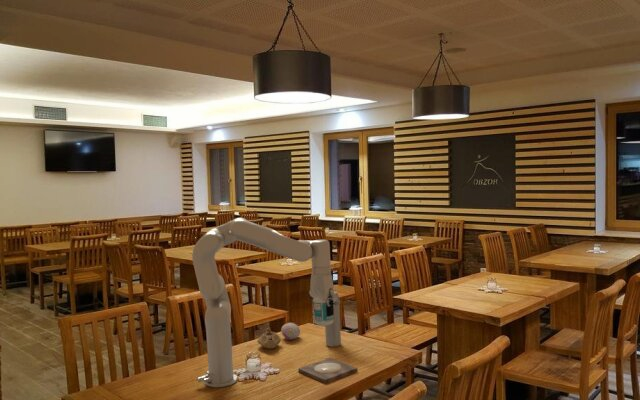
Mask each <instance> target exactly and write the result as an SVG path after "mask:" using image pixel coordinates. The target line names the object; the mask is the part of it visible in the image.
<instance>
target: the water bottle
mask: <svg viewBox="0 0 640 400" xmlns="http://www.w3.org/2000/svg"><path fill="white" fill-rule="evenodd" d="M334 293H335V295H336V296H337V299H336V302H335V303H334V305H333V309H334V315H333V323H332V324H330V325H325V326H324V329H325V330H324V331H325V345H326V346H327V347H331V348H336V347H339V346H340V345H341V343H342V337H341V335H342V334H341V317H340V315H341V314H340V313H341V312H340V310H341V309H340V303H341V301H340V299H339V292H338V291H335V290H334Z"/></svg>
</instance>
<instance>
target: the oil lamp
mask: <svg viewBox="0 0 640 400" xmlns="http://www.w3.org/2000/svg"><path fill="white" fill-rule="evenodd" d="M265 331H266V332H264V333H262V335H260V337H258V339H257V343H258V345H260V346H262V348H264V349H267V350H270V349H274V348H276V347H277V346H278V345H279V344H280V342H281V341H282V339H281V336H280V335H279V334H277V332H276V331H272V330H271V327H267V328H266V330H265Z"/></svg>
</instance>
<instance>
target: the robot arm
mask: <svg viewBox="0 0 640 400" xmlns="http://www.w3.org/2000/svg"><path fill="white" fill-rule="evenodd" d="M237 241H239V242H242V243H244V244H248V245H252V246H254V247H257V248H260V249H263V250H266V251H267V252H270V253H274V254H277V255H279V256H282V257H285V258H288V259H291V260H294V261H298V262H307V261H309V260H310V259H311V276H310V289H309V291H308V294H309V296H310V298H311V300H312V303H313V304H312V305H313V307H314V298H316V297H317V298H320V299H321V300H326V303H327V306H326V310H327V316H331V315H334V309H333V305H334V303H335V302H336V299H337V296H336V295H335V293H334V291H335V289H334V282H333V276H332V267H331V249H330V248H331V245H330V241H329V240H328V239H315V240H307V239H305V240H304V239H299V240H296V239H294V238H291V237H288V236H286V235H283V234H281V233H280V232H278V231H277V230H275V229H273V228H271V227H266V226H264V225H261V224H257V223H255V222H252V221H249V220H247V219H246V218H244V217H236V218H233V219H231V220H230V221H227V222H226V223H223V224H221V225H218V226H217V227H214V228H212V229H209V230H208V231H207V232H206V233H204V234H203V235H202V236H201V237H200V238H199V240H198V241H197V242H196V243H195V245H194V246H193V250H192V257H191V258H192V265H193V268H194V272H195V277H196V281H197V285H198V286H197V287H198V290H199V294H200V296H201V297H202V298H203V299H204V303H205V305H206V310H205V314H204V324H205V330H206V332H205V333H206V347H207V348H206V349H207V364H208V370H207V371H206V374H203V376H202V375H201V376H199V377H197V378H196V380H197V383H202V382H203V383H204V384H205V385H206V386H207V387H210V388H225V387H228V386H229V387H230V386H231V385H234V384H235V383H236V382H237V381H238V375H237V374H235V373H234V363H233V361H234V360H233V345H232V344H233V343H232V332H231V331H232V330H231V311H232V306H231V301H230V297H229V294H228V290H227V286H226V282H225V280H224V278H223V277H222V275H220V273H219V271H218V266H217V263H216V259H215V257H216V254H217V252H219V251H220V250H221V249H222V248H224V247H225V246H228V245H230V244H233V243H235V242H237ZM328 297H329V298H328ZM329 300H330V302H329Z"/></svg>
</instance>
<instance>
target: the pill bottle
mask: <svg viewBox="0 0 640 400" xmlns="http://www.w3.org/2000/svg"><path fill="white" fill-rule="evenodd" d="M328 298H329V297H328ZM329 302H330V300H329ZM326 306H327V303H326V300H321V299H320V298H317V297H316V298H314V306H313V313H314V323H315V324H316V325H317V326H321V327H322V326H324V327H325V325H330V324H332V323H333V315H331V316H327V310H326Z"/></svg>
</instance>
